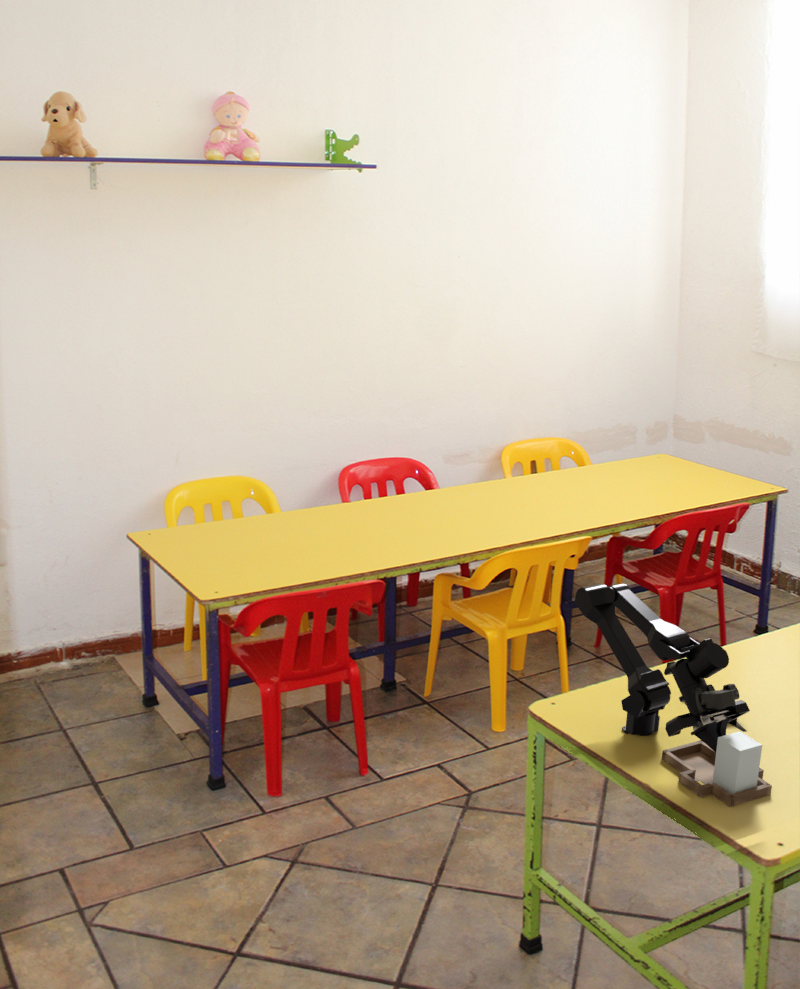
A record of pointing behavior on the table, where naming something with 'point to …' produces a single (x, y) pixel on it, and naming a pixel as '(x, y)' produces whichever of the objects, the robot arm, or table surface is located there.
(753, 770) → the block
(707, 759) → the brown compartment tray
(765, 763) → the table surface
